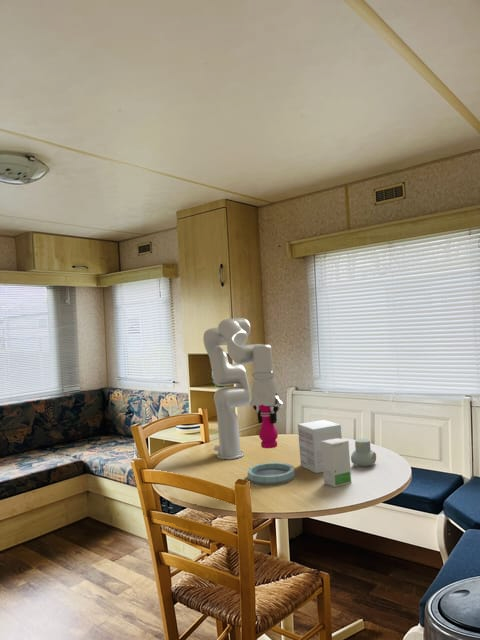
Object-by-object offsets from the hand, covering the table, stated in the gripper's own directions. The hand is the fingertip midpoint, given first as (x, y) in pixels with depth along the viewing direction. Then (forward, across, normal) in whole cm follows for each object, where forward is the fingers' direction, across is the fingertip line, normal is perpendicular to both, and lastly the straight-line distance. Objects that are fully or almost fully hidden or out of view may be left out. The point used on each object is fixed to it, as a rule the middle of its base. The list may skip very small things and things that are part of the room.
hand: (267, 422), depth 188 cm
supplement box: (+22, +12, +20) cm, 32 cm away
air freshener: (+22, +27, +28) cm, 45 cm away
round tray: (+22, 0, 0) cm, 22 cm away
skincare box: (+22, +26, +4) cm, 34 cm away
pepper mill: (+10, 0, 0) cm, 10 cm away
